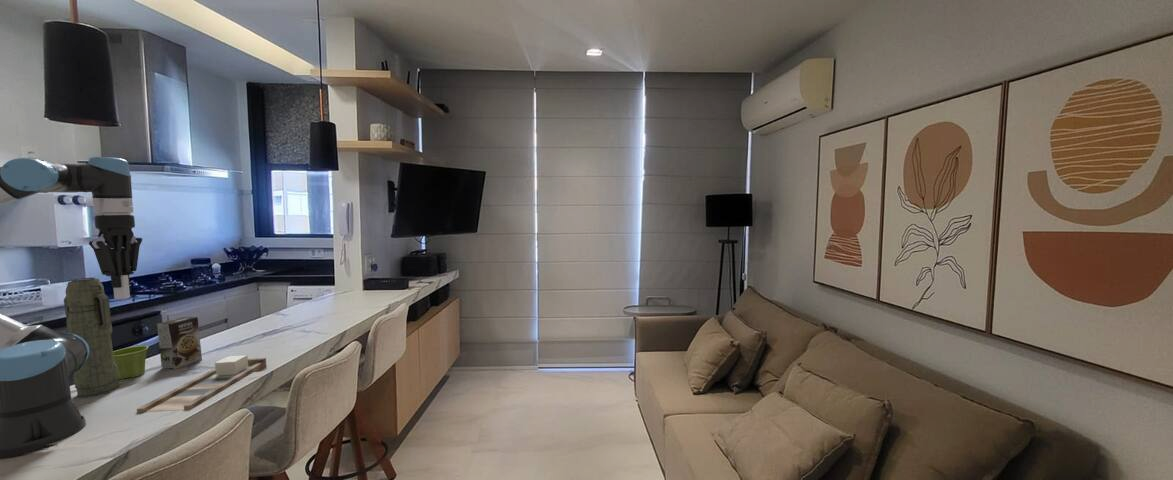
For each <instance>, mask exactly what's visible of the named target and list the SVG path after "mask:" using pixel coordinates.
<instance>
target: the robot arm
mask: <svg viewBox="0 0 1173 480" xmlns="http://www.w3.org/2000/svg"><path fill="white" fill-rule="evenodd" d="M132 188H133V187H132V175H131V171H130V165H129V162H128V161H127V160H126V159H123V158H120V157H119V158H118V157H109V156H107V157H106V156H101V157H100V156H99V157H98V156H92V157H89V158H88V162H87V163H83V164H82V163H80V164H79V163H78V164H77V163H75V164H74V163H59V162H58V163H57V162H51V161H46V160H45V159H44V160H43V159H40V158H37V157H36V158H34V157H19V158H14V159H10V160H8V161H6V162H5V163H4V164H3V165H2V166H0V207H1V206H3V205H4V206H5V205H6V204H9V203H12V202H15V201H18V200H21V199H24V198H28V197H30V196H33V195H36V194H39V193H41V194H42V193H44V194H47V193H91V195H92V196H91V197H92V208H93V209H92V210H93V213H95V214H96V215H95V216H94V218H93V219H94V227H95V229H97V230H98V231H99V232H98V235H97V239H95V240H90V241H89V242H88V245H89V246H90V247H91V248H92V250H93V253H94V255H95V258H96V261H97V264H98V267H99V269H100V271H101V274H102V275H103V276H106V277H110V281H111V282H110V283H111V288H112V289H113V298H114V300H126V299H130V298H131V295H130V294H131V292H130V284H131V281H130V280H131V279H130V275H133V274H135V272H136V271H137V269H138V263H139V262H138V261H139V253H140V246H141V244H142V242H143V238H142V237H137V236H135V235H134V234H135V233H134V232H133V230H132V229H134V228H135V226H136V221H135V216H134V206H133V205H134V204H133V193H132V192H133V190H132ZM88 356H89V346H88V344H87V342H86V341H85V340H84V339H83V338H82V337H80V336H78V335H76V334H72V333H68V332H67V331H66V332H65V331H62V332H60V331H59V332H58V331H55V330H54V329H52V328H49V327H48V326H46V325H43V324H35V325H26V324H25V323H22V322H20V321H18V320H16V319H14V318H11V317H9V316H6V315H4V314H2V313H1V312H0V459H5V458H12V457H17V456H23V455H27V454H31V453H35V452H38V451H42V450H45V449H48V448H50V447H51V448H52V447H54V446H56V445H58V443H57V442H59V441H62V440H64V439H66V438H69V437H71V436H73V435H75V434H77V433H79V432H81V430H83V429H84V428H85V427H86V425H87V422H86V418H85V417H84V415H82V414H81V412H80V411H79V409H78V407H77V406H76V404H75V403H74V401H73V400H72V394H71V393H72V392H71V386H70V385H71V384H70V379H69V378H70V377H72V376H74V373H76V372H77V371H78V370H79V369H80V368H82V367H83V365H84V364H85V362H86V360H87V358H88ZM54 443H57V444H54Z"/></svg>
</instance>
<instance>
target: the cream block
mask: <svg viewBox="0 0 1173 480" xmlns="http://www.w3.org/2000/svg"><path fill="white" fill-rule="evenodd" d="M248 359H249V358H248V355H245V354H244V355H229V356H226V357H224V358H222V359H220V360H218V361H216V362H214V369H216V376H217V375H233V374H238V373H239V372H241V371H243V370H245V369H246V368H248Z"/></svg>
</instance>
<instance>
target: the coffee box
mask: <svg viewBox="0 0 1173 480" xmlns="http://www.w3.org/2000/svg"><path fill="white" fill-rule="evenodd" d="M156 325H157V335H158V345H159V346H158V347H159V353H160V354H159V355H160V365H161V368H162V367H163V368H162V369H169V368H173V370H176V369H179V368H180V369H181V368H182V367H185V366H188V365H191V364H194V363H197V362H199V361H202V360H203V357H202V356H203V355H202V346H201V337H200V327H199V317H198V316H187V317H186V316H185V317H179V318H175V319H172V320H167V321H162V322H159V323H156Z"/></svg>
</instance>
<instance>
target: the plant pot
mask: <svg viewBox="0 0 1173 480" xmlns="http://www.w3.org/2000/svg"><path fill="white" fill-rule="evenodd" d="M148 350H149V346H148V345H137V346H131V347H126V348H125V347H124V348H120V349H117V350H113V357H114V362H115V363H116V365H117V367H118V375H119V379H120V380H125V379H124V378H126V379H127V378H131V377H132V378H136V377H139V376H142V375H143V374H144V373H145V372H146V359H147V358H146V356H147V352H148ZM135 376H136V377H135ZM119 379H118V380H119Z"/></svg>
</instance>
